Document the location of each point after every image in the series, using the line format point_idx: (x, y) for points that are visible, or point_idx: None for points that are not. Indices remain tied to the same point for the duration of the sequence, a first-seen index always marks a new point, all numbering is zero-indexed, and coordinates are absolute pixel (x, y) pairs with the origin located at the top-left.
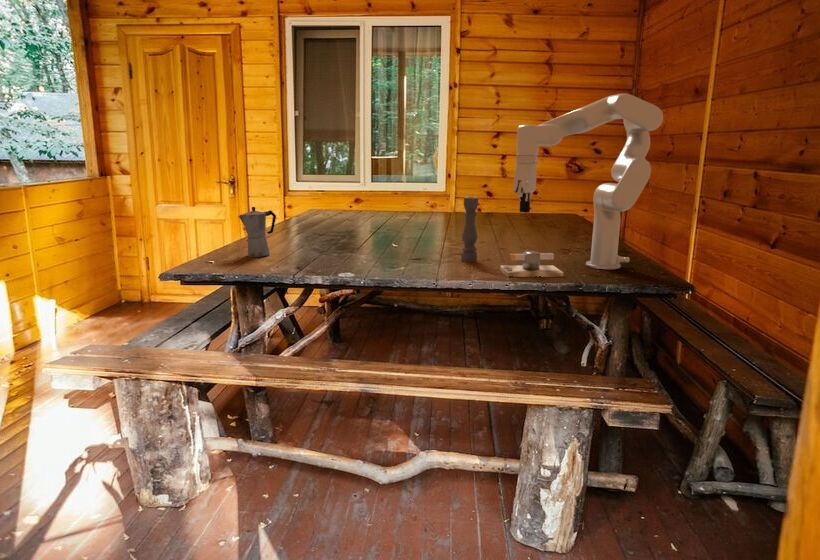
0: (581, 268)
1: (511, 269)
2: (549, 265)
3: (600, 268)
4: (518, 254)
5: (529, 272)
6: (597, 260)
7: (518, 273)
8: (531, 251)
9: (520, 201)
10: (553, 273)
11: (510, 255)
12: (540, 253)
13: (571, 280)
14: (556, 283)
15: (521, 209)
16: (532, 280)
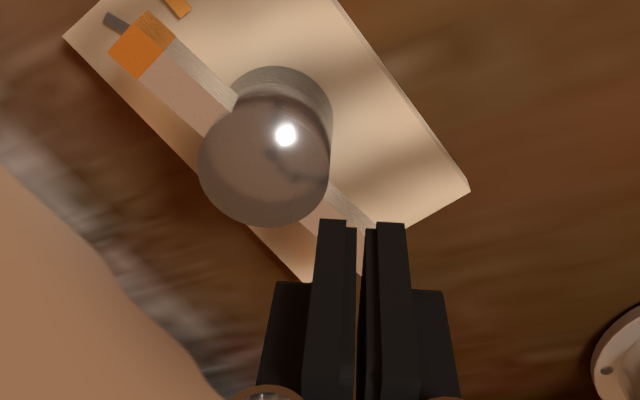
0: (578, 287)
1: (170, 17)
2: (457, 174)
3: (591, 362)
4: (171, 94)
5: (173, 147)
6: (635, 374)
7: (122, 93)
8: (306, 154)
9: (302, 374)
10: (270, 245)
11: (114, 44)
12: (288, 223)
13: (254, 315)
14: (146, 283)
15: (276, 287)
16: (112, 180)
